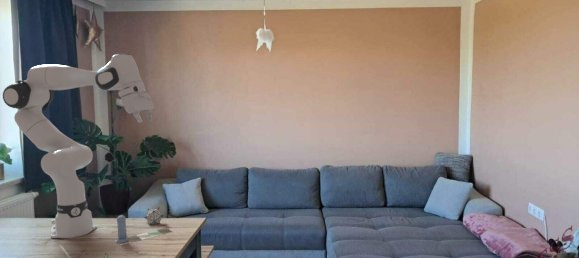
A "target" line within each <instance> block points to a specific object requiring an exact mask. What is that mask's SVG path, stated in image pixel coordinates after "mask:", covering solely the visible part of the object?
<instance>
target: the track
mask: <svg viewBox="0 0 579 258" xmlns="http://www.w3.org/2000/svg"><path fill="white" fill-rule="evenodd" d="M170 233H173V231H172V230H171V229H169V228H167V227H163V228H159V229H155V230H151V231H147V232H143V233H139V234H135V235H132V236H128V242H126V243H122V244H119V243H117V239H115V240H114V242H115V243H117V244H118V245H119V246H124V245H127V244H131V243H135V242H139V241H143V240H147V239H150V238H154V237H155V238H156V237H158V236H162V235H166V234H170Z"/></svg>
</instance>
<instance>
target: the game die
mask: <svg viewBox="0 0 579 258" xmlns="http://www.w3.org/2000/svg"><path fill="white" fill-rule="evenodd" d="M147 210H148V211H147V214H146V216H144V219H146V220H147V223H148V225H156V224H157V225H158V224H159V225H161V220H162V217H164V214H162V213H161V210H160V207H158V208H152V209H149V208H147Z"/></svg>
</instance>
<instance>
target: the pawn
mask: <svg viewBox="0 0 579 258" xmlns="http://www.w3.org/2000/svg"><path fill="white" fill-rule="evenodd" d="M116 222H117V223H116V225H117V237H116V240H117V242H116V243H117V244H118V243H119V244H122V243H126V242H128V237H129V236H127V225H126V224H127V223H126V222H127V221H126V216H125V215H123V214H121V215H118V216H117V218H116ZM119 244H118V245H119Z"/></svg>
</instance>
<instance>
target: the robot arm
mask: <svg viewBox="0 0 579 258" xmlns="http://www.w3.org/2000/svg"><path fill="white" fill-rule="evenodd" d="M26 76H27V78H26V80H23V79H19V80H17V81H15V82H14V83H12V84H9V85H7V86H6V87H5V88H4V90H3V92H2V100H3V103H5V105H6V106H8V107H9V108H12V109H16V110H17V111H16V113H15V114H14V116H13V118H14V122H15V124H17V126H18V128H19V129H20V131H21V132H22V133H23V134H24V135H25V136H26V137H27V138H28V139H29V140H30V141H31V143H32V144H33V145H35V147H36V148H37V149H38V150H40V151H44V152H47V153H46V154H44V155H43V156H42V158H41V161H40V167H41V169H42V172H43V173H44V174H46V175H48V176H49V177H50V178H51V179H52V181H53V183H54V186H55V189H56V191H55V192H56V199H57V204H56V212H57V213H56V215H55V218H53V219H51V225H52V226H51V227H50V228H51V229H50V238H51V239H56V238H57V239H71V238H76V237H80V236H85V235H87V234H89V233H91V232H92V231H93V230H95V229H97V228H98V227H97V224H94V223H93V216H92V215H93V214H92V211H91V210H90V209H88V202H87V201H88V200H87V199H86V190H85V183H84V182H83V181H82V180H80V179H79V177H78V175H77V170H80V169H84V168H85V167H87V166H88V165H89V164H90V163H91V162H92V161H93V158H94V157H93V155H94V154H93V153H94V152H93V150H92V149H91V148H90V147H89V146H87V145H85V144H82V143H79V142H77V141H75V140H73V139H71V138H70V137H68V135H65V134H64V133H63V132H61V131H60V130H59V129H58V127H56V126H55V125H54V124H53V123H52V122H51V121H50V119H48V118H47V117H46V116H45V115H44V114H43V111H45V110H47V109H48V108H49V105H50V104H52V103H53V100H54V96H55V93H54V92H55V91H65V90H72V89H77V88H81V87H88V86H97V87H98V88H99V89H100V90H102V91H118V93H117V94H118V97H120V98H121V99H120V100H121V103H122V105H123V107H124V110H125V111H126V113H127V114H133V115H132V116H133V117H134V118H135V120H136V121H137V123H138V124H141V123H144V120H143V117H141V115H140V113H143V112H144V113H145V114H146V120H147V122H152V121H153V117H152V115H153V114H152V110H154V109H155V104H154V103H153V100H152V97H151V95H150V94H149V93H147V90H146V87H145V84H144V81H143V79H142V77H141V75H140V70H139V68H138V65H137V63H136V60H135V58H134V57H133V55H132V54H130V53H116V54H114V55H112V56H111V59H110V61H109V62H108V63H107V64H106V65H105V66H103V67H101V68H99V69H98V70H96V71H95V70H88V69H81V68H79V67H73V66H69V65H62V64H41V65H40V64H39V65H35V66H33V67H31V68H30V69H29V70H28V71H27V75H26Z"/></svg>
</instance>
